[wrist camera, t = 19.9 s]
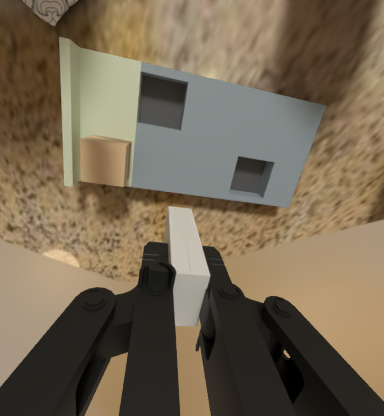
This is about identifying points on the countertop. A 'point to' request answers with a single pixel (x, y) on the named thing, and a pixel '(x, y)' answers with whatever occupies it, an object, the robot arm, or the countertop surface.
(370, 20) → the countertop surface
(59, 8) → the cookie jar
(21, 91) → the countertop surface
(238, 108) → the board
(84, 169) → the oak cube
